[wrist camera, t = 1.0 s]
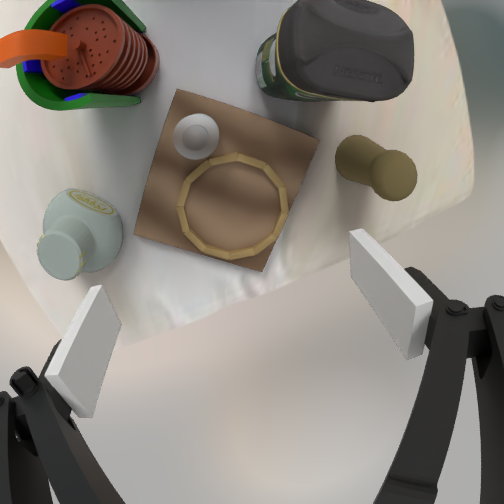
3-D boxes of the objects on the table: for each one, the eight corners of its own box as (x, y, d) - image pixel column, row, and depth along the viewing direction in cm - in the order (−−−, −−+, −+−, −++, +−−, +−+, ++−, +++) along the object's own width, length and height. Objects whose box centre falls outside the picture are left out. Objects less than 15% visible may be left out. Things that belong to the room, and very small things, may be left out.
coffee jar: (336, 43, 30) (426, 9, 14) (333, 104, 34) (425, 113, 17) (254, 34, 29) (288, -26, 13) (252, 98, 33) (286, 92, 16)
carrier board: (178, 89, 31) (168, 85, 25) (316, 139, 35) (338, 147, 29) (136, 229, 38) (120, 256, 31) (260, 266, 42) (268, 298, 36)
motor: (167, 95, 31) (109, 85, 14) (96, 117, 31) (-8, 141, 14) (151, 18, 27) (90, -54, 9) (82, 43, 27) (-22, 12, 9)
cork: (356, 190, 39) (398, 221, 29) (325, 159, 37) (363, 181, 27) (386, 157, 37) (435, 179, 27) (356, 125, 35) (403, 136, 25)
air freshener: (49, 231, 37) (13, 265, 28) (65, 177, 34) (25, 201, 25) (115, 264, 40) (92, 307, 31) (136, 212, 37) (113, 247, 28)
